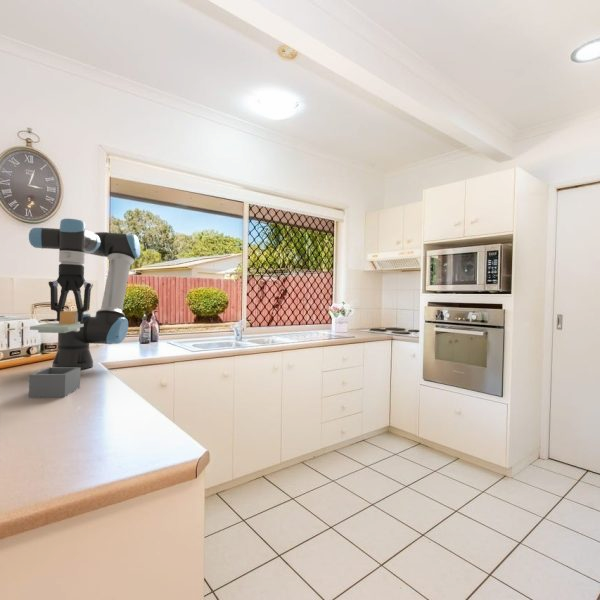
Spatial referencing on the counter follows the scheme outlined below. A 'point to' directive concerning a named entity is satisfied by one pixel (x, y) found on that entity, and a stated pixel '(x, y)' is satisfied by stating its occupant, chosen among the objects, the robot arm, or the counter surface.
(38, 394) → the tub
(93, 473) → the counter surface
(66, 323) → the lid
